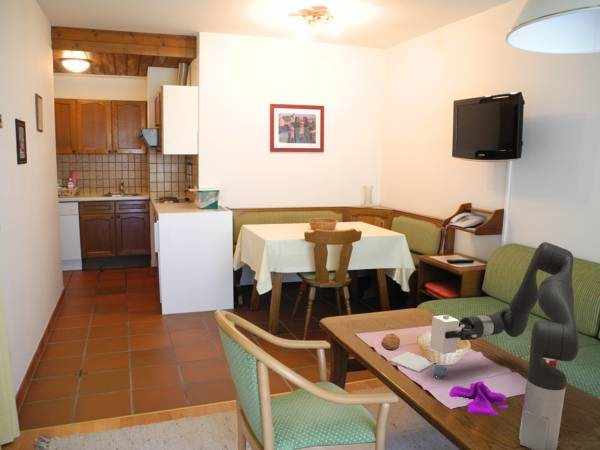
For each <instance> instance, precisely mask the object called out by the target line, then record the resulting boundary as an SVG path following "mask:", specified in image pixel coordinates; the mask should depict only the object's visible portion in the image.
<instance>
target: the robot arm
mask: <svg viewBox="0 0 600 450" xmlns="http://www.w3.org/2000/svg"><path fill="white" fill-rule="evenodd" d="M573 268H574V256H573V253H572V252H571V251H570V250H568V249H566V248H563V247H560V246H558V245H555V244H553V243H550V242H547V241H543V242H541V243H540V244H539V245H538V246H537V248H536V249H535V251H534V253H533V255H532V257H531V260H530V262H529V264H528V266H527V269H526V271H525V273H524V276H523V278H522V281H521V283H520V285H519V288H518V290H517V291H516V292H515V294H514V296H513V298H512V299H511V301H510V302H509V307H504V308H502V309H501V310H499V311H497V312H495V313H492V314H485V315H481V314H480V315H479V314H478V315H472V316H465V317H462V318H461V319H460V320H459V327H458V330H456V331H448V332H446V333H445V338H446V339H450V338H456V339H457V340H458V339H459V340H460V341H471V340H477V339H481V338H485V337H488V336H497V335H500V334H501V333H503V331H504V332H505V334H507V335H508V336H509V337H510V338H518V337H519V336H522V335H523V334H524V332H525V330H526V328H527V326H528V321H529V318H530V313H531V312H532V311H533V308H534V307H535V306H536V304H537V302H538V305H539V307H540V308H539V309H540V310H541V311H542V312H543V313H544V315H546V317H547V318H548V319H550V320H551V321H552V322H550V321H546V320H537V321H535V322H534V324H533V325H532V329H531V335H530V347H529V348H530V351H529V361H528V370H527V375H526V382H525V388H524V389H525V391H524V398H523V404H522V405H523V406H522V411H521V412H522V413H521V420H520V428H519V434H518V438H519V439H518V440H519V445H521V446H523V447H526V448H528V449H529V450H557V449H558V444H559V436H560V428H561V422H562V415H563V414H562V412H563V409H564V408H563V407H564V401H565V394H566V393H565V392H566V386H567V376H566V374H565V373H564V372H563V371H562V370H560V369H558V368H557V367H556V368H555V367H553V366H551V365H550V364H548V363H547V362H546V361H545V360H544V359H543V358H549V359H554V360H557V361H560V362H572V361H574V360H575V359H576V358H577V357H578V353H579V348H580V347H579V346H580V343H579V340H580V339H579V334H578V333H579V332H578V328H577V322H576V317H575V297H574V288H573ZM538 271H542V272H544V273H547V274H549V275H550V276H547V277H545V278H544V280H543V281H541V283H540V284H539V286H538V282H537V273H538Z"/></svg>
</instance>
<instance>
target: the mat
mask: <svg viewBox="0 0 600 450" xmlns="http://www.w3.org/2000/svg"><path fill="white" fill-rule="evenodd" d="M427 359H428V358H427ZM427 359H426V357H424V356H421V355H418V354H415V353H412V352H409V351H406V352H403V353H402V354H400V355H397V356H395V357H393V358H391V359H390V358H389V360H388V361H389V362H390V363H393V364H395V365H397V366H400V367H403V368H406V369H408V370H410V371H412V372H413V371H414V372H415V373H421V372H423V371H425V370H427V369H428V367H429V368H430V366H431V365H432V363H430V362H429V361H428V360H427ZM432 366H433V365H432ZM432 366H431V367H432Z"/></svg>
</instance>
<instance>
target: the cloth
mask: <svg viewBox="0 0 600 450" xmlns="http://www.w3.org/2000/svg"><path fill="white" fill-rule="evenodd" d="M470 385H471V386H470ZM448 395H449V396H450V397H451V398H462V397H463V399H466V398H468V400H470V402H468V403H467V412H468V413H470V414H480V415H489V416H498V415H499V413H498V412H497V411H496V410H495V409H494V408H493V407H492V404H493V405H494V404H501V405H498V406H497V408H498V409H501V410H502V409H503V410H504V409H507V408H508V407H509V405H508V404H507V405H506V404H504V403H505V401H506V400H507V396H506V395H505V394H504V393H501V392H494V391H492V390H491V389H490V388H489V387H488V386H487V385H485V383H484V381H483V380H481V381H476V382H472V383H470V384H469V388H468V387H464V386H459V385H455V386H453V387H452V388H451V389H450V391H449V394H448ZM471 399H473V400H471ZM502 404H503V405H502Z"/></svg>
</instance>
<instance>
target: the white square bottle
mask: <svg viewBox="0 0 600 450" xmlns="http://www.w3.org/2000/svg"><path fill="white" fill-rule="evenodd" d="M431 322H432V323H431V332H430V333H431V334H430V341H429V342H430V343H429V349H432V350H433V351H436V352H437V353H438V354H441V355H445V354H446V355H447V354H453V353H457V345H458V339H456V338H450V339H446V338H445V333H446V332H448V331H456V330H458V327H459V322H460V320H459V319H457V318H454V317H453V316H450V315H449V314H441V315H434V316H432V321H431Z"/></svg>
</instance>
